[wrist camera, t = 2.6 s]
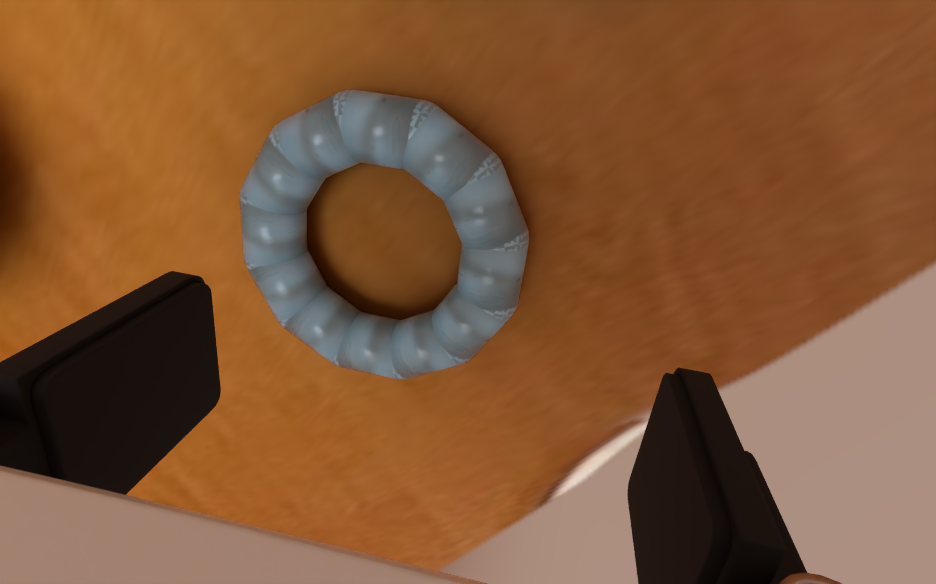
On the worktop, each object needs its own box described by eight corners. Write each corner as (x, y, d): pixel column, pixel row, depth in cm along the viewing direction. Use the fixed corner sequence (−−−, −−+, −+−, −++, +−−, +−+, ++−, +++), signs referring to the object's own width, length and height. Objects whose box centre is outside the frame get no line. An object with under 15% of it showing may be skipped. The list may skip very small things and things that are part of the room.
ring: (552, 114, 15) (548, 122, 13) (505, 380, 19) (497, 413, 17) (256, 71, 16) (216, 73, 15) (268, 330, 20) (238, 356, 19)
